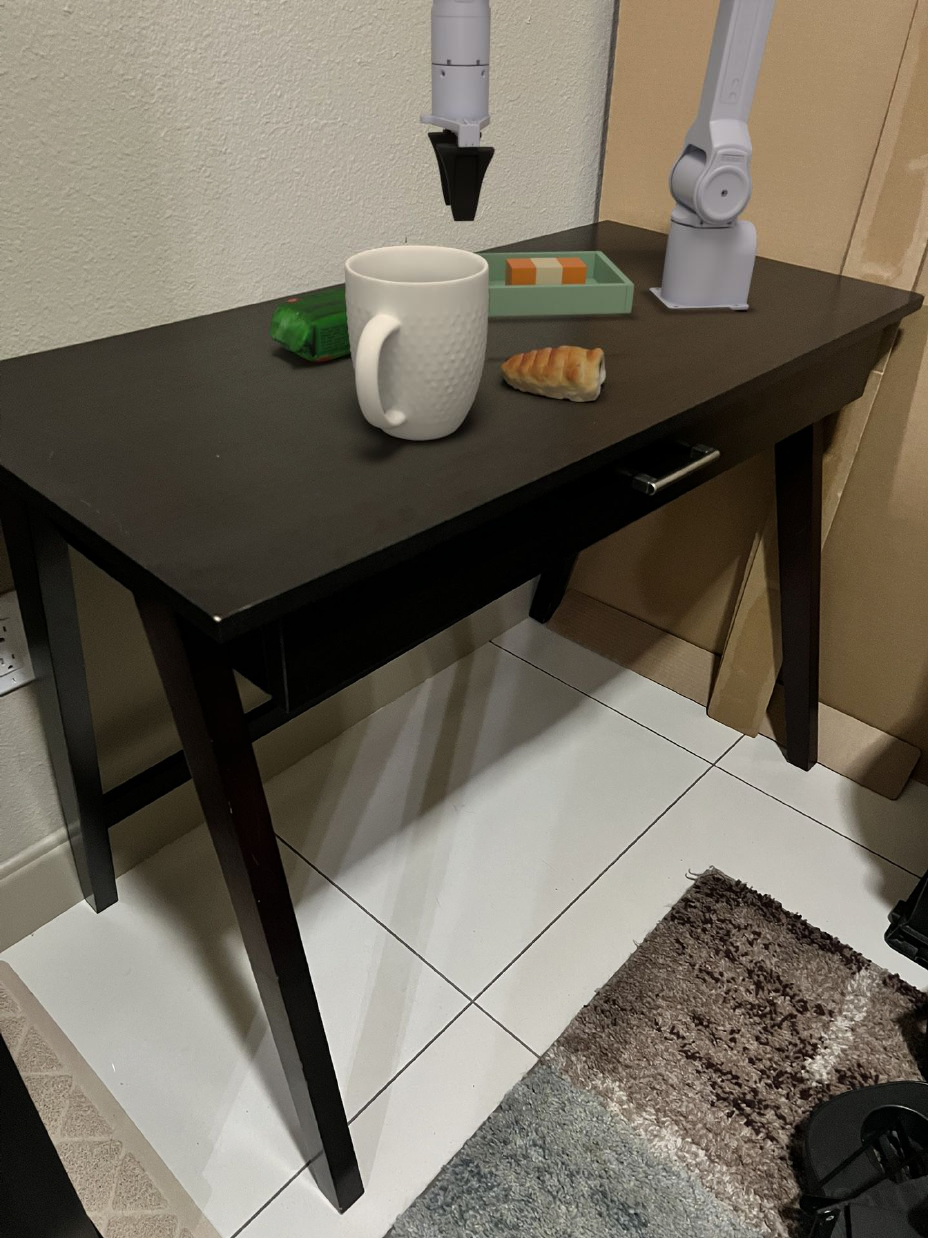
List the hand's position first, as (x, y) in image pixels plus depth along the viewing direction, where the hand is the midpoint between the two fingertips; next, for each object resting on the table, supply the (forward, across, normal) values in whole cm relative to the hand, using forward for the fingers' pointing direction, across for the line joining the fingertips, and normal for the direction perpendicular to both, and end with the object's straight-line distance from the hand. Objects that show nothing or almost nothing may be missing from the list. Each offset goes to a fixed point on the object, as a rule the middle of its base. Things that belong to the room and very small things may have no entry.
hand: (459, 212), depth 98 cm
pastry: (+10, +25, +6) cm, 28 cm away
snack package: (+10, +12, -13) cm, 20 cm away
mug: (+10, +33, -8) cm, 35 cm away
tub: (+10, -2, +10) cm, 14 cm away
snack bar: (+9, -2, +10) cm, 14 cm away
